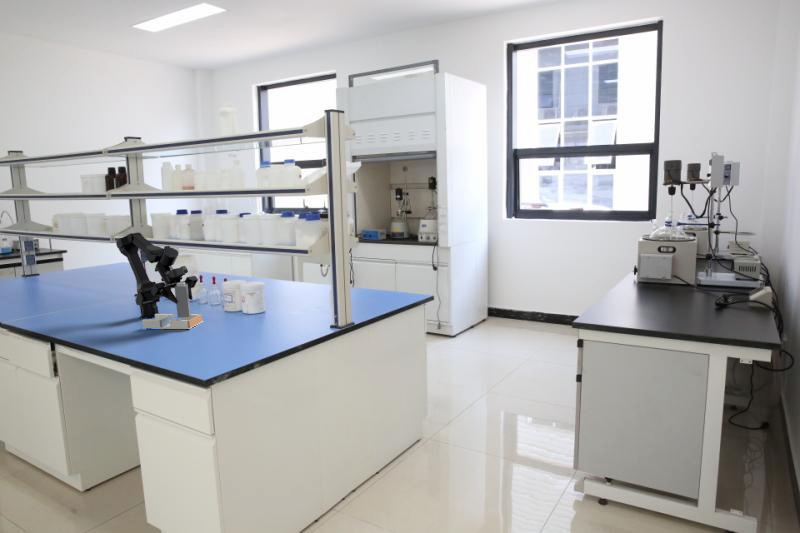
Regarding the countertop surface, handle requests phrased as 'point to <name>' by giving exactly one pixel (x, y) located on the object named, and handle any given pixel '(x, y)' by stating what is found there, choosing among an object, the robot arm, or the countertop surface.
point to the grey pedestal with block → (182, 300)
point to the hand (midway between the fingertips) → (184, 301)
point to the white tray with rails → (172, 321)
